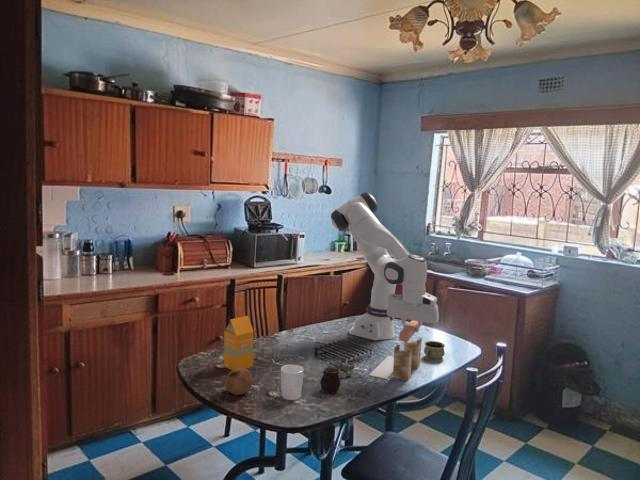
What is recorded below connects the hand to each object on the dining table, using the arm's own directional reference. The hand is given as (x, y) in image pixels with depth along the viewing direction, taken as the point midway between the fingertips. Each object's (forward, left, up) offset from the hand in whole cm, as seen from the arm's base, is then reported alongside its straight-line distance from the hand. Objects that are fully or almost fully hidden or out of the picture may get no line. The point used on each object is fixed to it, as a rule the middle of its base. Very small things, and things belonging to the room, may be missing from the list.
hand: (411, 330), depth 202 cm
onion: (-47, -51, -17) cm, 71 cm away
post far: (-1, +6, -17) cm, 18 cm away
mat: (-9, -1, -17) cm, 19 cm away
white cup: (-30, -44, -17) cm, 55 cm away
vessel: (+5, +20, -17) cm, 27 cm away
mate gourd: (-20, -33, -17) cm, 42 cm away
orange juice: (-61, -31, -17) cm, 70 cm away
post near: (-1, -8, -17) cm, 19 cm away
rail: (0, 0, -1) cm, 1 cm away
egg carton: (-23, -15, -17) cm, 33 cm away
